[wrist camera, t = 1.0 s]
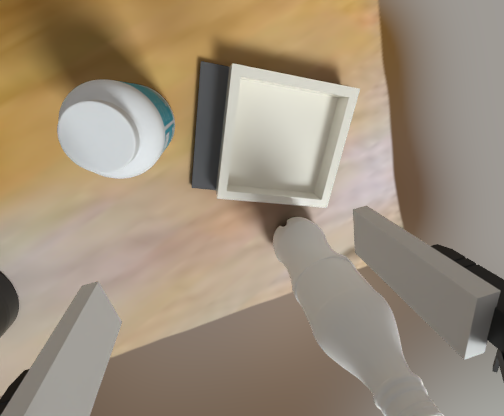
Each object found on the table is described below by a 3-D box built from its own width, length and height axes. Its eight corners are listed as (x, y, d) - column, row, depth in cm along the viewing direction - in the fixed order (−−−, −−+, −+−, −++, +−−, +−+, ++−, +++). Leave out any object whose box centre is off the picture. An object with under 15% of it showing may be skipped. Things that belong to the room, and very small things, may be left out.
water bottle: (305, 257, 40) (436, 461, 18) (262, 250, 38) (349, 468, 16) (322, 217, 38) (500, 392, 15) (278, 207, 36) (406, 389, 13)
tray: (215, 190, 33) (217, 198, 30) (229, 66, 28) (232, 63, 25) (317, 199, 36) (326, 207, 33) (345, 89, 31) (360, 89, 28)
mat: (191, 185, 33) (191, 187, 32) (200, 62, 28) (201, 61, 27) (321, 197, 37) (323, 199, 36) (349, 91, 32) (353, 91, 31)
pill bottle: (96, 87, 27) (8, 77, 15) (168, 82, 28) (142, 69, 16) (116, 158, 30) (57, 198, 18) (181, 151, 31) (167, 185, 19)
